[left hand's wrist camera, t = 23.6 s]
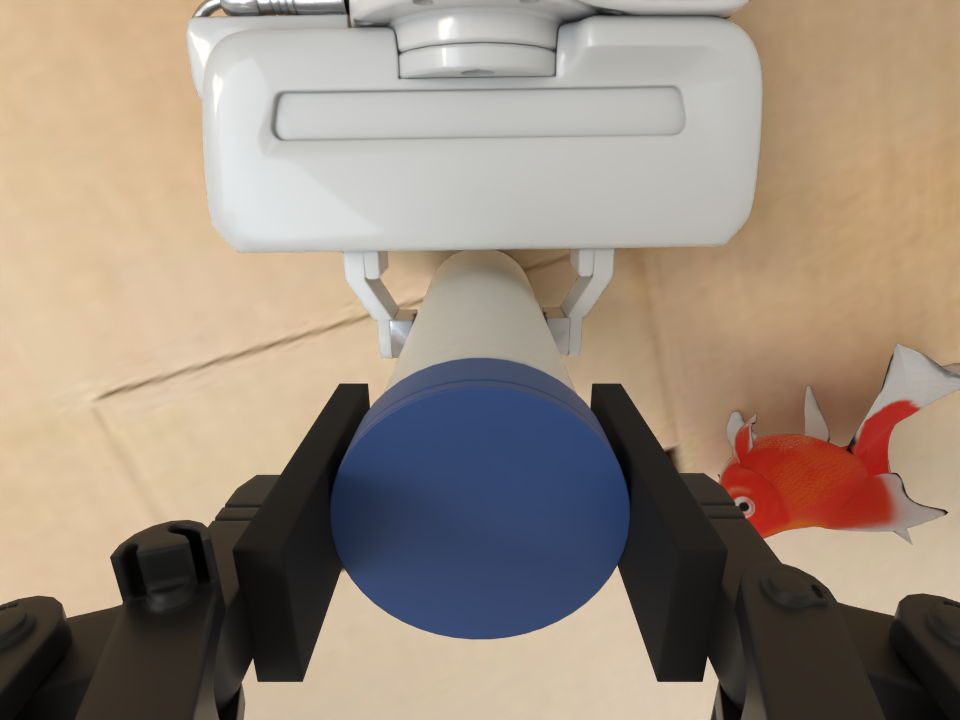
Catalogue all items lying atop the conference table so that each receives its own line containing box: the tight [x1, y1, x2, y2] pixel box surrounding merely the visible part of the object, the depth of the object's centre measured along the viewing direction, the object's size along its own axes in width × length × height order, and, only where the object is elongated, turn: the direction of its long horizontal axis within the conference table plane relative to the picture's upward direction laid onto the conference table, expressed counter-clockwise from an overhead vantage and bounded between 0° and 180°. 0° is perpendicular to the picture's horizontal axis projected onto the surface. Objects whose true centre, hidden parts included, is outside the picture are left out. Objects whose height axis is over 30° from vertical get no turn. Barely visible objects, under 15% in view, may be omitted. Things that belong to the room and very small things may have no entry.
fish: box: [718, 343, 960, 545], centre depth 27 cm, size 11×16×10 cm
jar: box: [383, 250, 577, 394], centre depth 20 cm, size 6×6×18 cm
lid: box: [330, 358, 630, 639], centre depth 11 cm, size 6×6×2 cm
